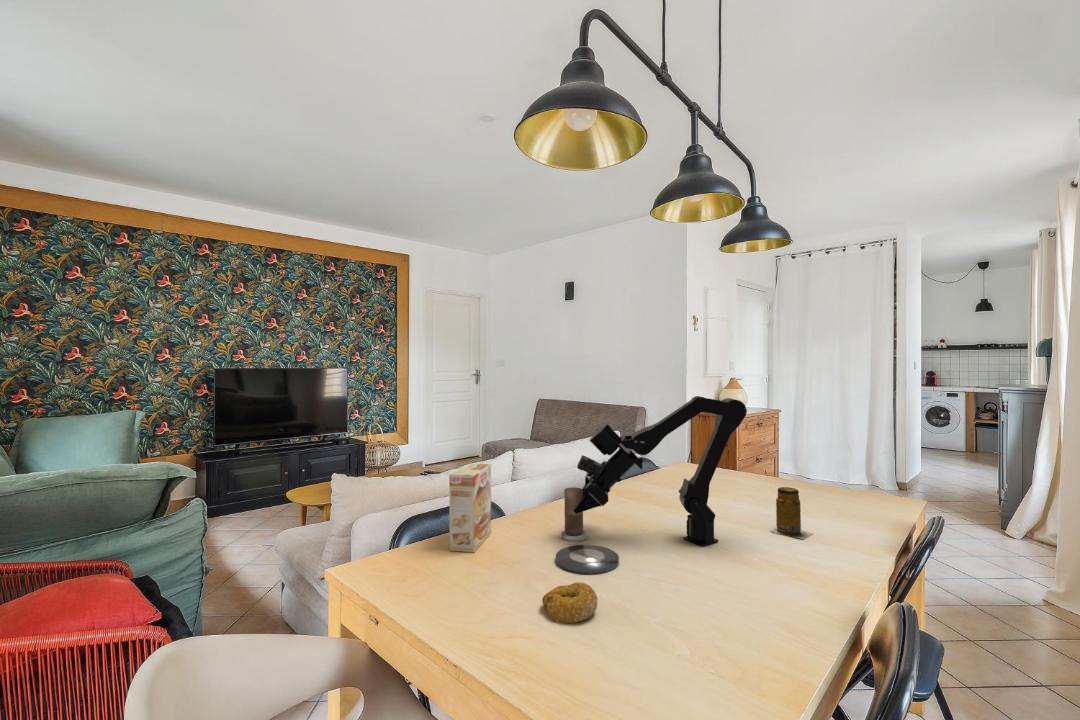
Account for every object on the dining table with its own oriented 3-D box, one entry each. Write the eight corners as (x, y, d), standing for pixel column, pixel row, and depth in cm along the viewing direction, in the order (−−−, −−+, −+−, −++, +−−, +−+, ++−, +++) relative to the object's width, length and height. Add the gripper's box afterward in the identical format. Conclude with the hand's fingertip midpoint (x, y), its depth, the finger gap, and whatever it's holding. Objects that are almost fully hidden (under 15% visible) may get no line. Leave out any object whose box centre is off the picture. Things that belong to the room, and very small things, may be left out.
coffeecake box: (474, 553, 122) (474, 475, 123) (448, 551, 124) (447, 474, 124) (492, 533, 137) (492, 463, 137) (468, 531, 138) (467, 462, 139)
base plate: (632, 565, 114) (632, 559, 114) (579, 580, 106) (579, 573, 106) (593, 545, 127) (593, 540, 127) (544, 557, 119) (544, 551, 119)
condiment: (782, 526, 140) (781, 484, 140) (813, 534, 134) (812, 490, 134) (770, 532, 136) (769, 489, 136) (802, 540, 129) (801, 495, 129)
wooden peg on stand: (592, 538, 132) (591, 490, 132) (570, 544, 128) (570, 494, 128) (577, 531, 138) (576, 485, 138) (556, 536, 134) (555, 488, 134)
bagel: (561, 593, 100) (561, 570, 100) (607, 610, 94) (607, 585, 93) (530, 613, 93) (530, 588, 93) (578, 633, 86) (578, 606, 86)
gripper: (594, 440, 142) (556, 478, 143) (595, 452, 123) (551, 494, 124) (621, 468, 141) (583, 505, 142) (626, 484, 122) (582, 526, 123)
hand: (575, 507), depth 133 cm, fingers open, 9 cm apart
